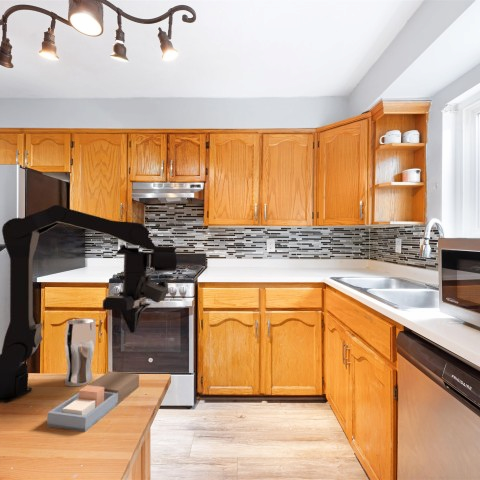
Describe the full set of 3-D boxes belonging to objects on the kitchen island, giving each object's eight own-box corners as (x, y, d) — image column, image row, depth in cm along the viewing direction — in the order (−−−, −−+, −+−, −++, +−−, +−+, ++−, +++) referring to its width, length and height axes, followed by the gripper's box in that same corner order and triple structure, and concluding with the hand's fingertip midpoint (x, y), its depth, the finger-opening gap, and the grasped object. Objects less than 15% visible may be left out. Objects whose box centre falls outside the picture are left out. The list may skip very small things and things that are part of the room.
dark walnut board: (84, 400, 68) (84, 386, 68) (108, 383, 76) (109, 371, 76) (117, 404, 66) (118, 390, 66) (138, 386, 75) (139, 374, 75)
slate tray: (46, 426, 57) (47, 412, 57) (84, 400, 68) (84, 388, 68) (85, 431, 56) (85, 417, 56) (117, 404, 66) (118, 392, 66)
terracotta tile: (86, 404, 65) (78, 410, 62) (87, 385, 65) (79, 390, 62) (103, 406, 64) (96, 412, 62) (104, 387, 64) (97, 392, 62)
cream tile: (77, 398, 62) (76, 411, 62) (62, 408, 58) (62, 422, 58) (95, 400, 61) (94, 413, 61) (81, 410, 57) (81, 424, 57)
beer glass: (56, 383, 76) (59, 321, 77) (82, 373, 82) (85, 317, 83) (74, 389, 73) (77, 325, 73) (100, 379, 79) (102, 320, 79)
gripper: (146, 275, 70) (144, 345, 69) (178, 270, 88) (176, 326, 87) (102, 273, 72) (99, 341, 71) (142, 269, 90) (140, 323, 89)
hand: (133, 332), depth 80 cm, fingers closed
